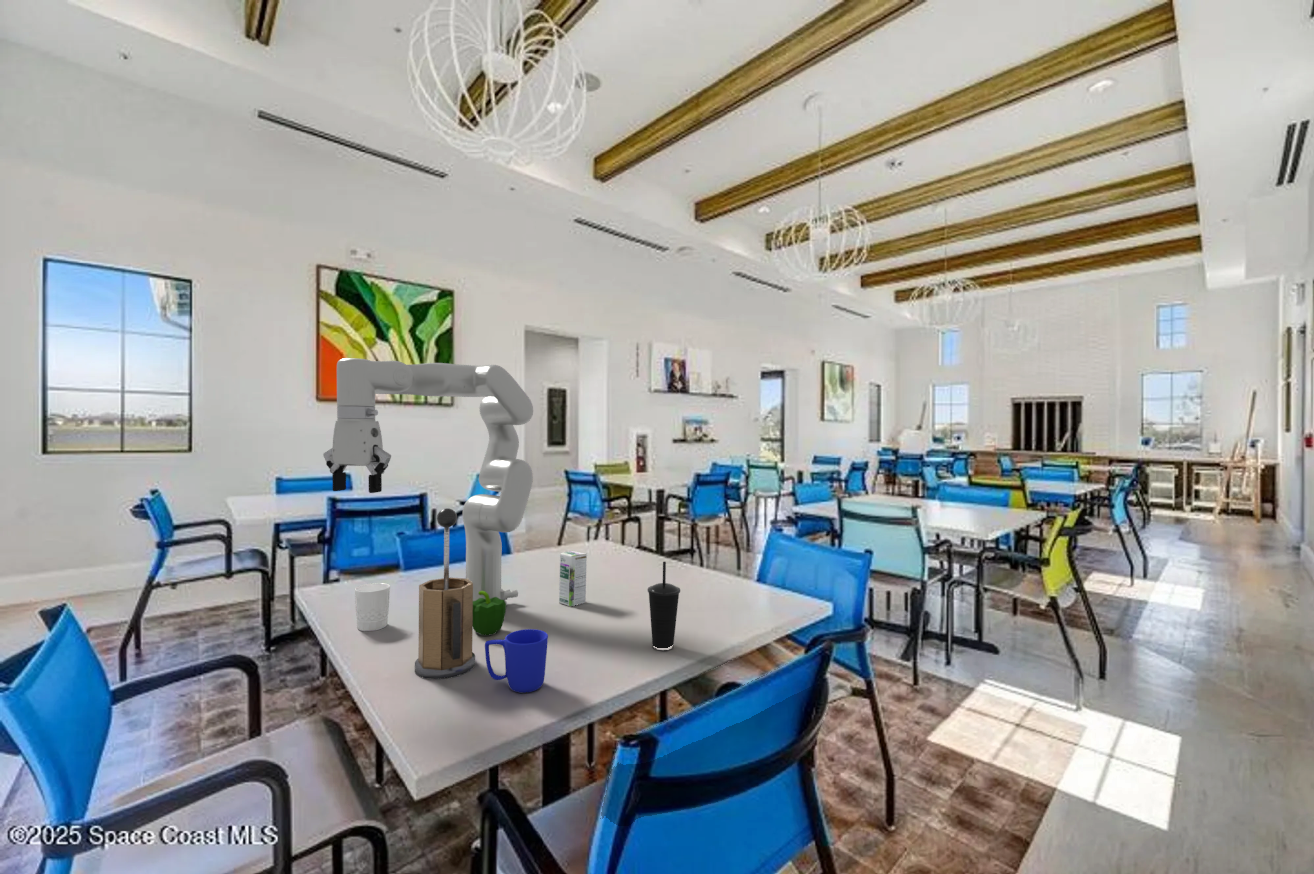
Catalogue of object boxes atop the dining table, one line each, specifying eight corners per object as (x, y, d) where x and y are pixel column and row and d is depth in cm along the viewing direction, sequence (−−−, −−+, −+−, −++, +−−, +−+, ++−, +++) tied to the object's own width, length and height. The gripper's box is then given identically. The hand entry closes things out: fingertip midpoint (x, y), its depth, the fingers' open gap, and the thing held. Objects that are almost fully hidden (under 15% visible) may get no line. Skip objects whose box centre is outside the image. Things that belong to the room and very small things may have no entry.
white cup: (375, 633, 139) (375, 592, 138) (347, 630, 140) (347, 590, 140) (396, 622, 146) (396, 583, 146) (369, 620, 148) (369, 581, 148)
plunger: (459, 589, 125) (460, 505, 125) (469, 598, 119) (470, 509, 119) (422, 594, 121) (423, 507, 121) (431, 604, 115) (432, 512, 114)
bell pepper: (511, 632, 141) (512, 592, 141) (480, 641, 135) (481, 599, 135) (494, 623, 147) (494, 585, 146) (464, 631, 141) (464, 591, 141)
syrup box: (558, 603, 165) (558, 552, 164) (573, 598, 169) (574, 549, 169) (571, 607, 161) (571, 556, 161) (586, 602, 165) (587, 552, 165)
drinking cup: (655, 655, 128) (657, 567, 127) (641, 644, 135) (642, 559, 134) (685, 650, 131) (686, 563, 131) (669, 638, 138) (670, 556, 138)
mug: (489, 678, 115) (489, 629, 115) (549, 677, 116) (550, 628, 116) (479, 697, 107) (480, 644, 107) (545, 696, 108) (545, 643, 108)
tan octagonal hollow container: (465, 651, 129) (466, 573, 128) (486, 673, 117) (487, 589, 117) (409, 662, 122) (409, 581, 122) (424, 688, 110) (425, 598, 110)
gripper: (401, 415, 128) (401, 491, 129) (338, 414, 133) (339, 487, 133) (376, 414, 121) (376, 495, 121) (310, 414, 125) (311, 491, 126)
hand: (357, 491), depth 127 cm, fingers open, 9 cm apart
